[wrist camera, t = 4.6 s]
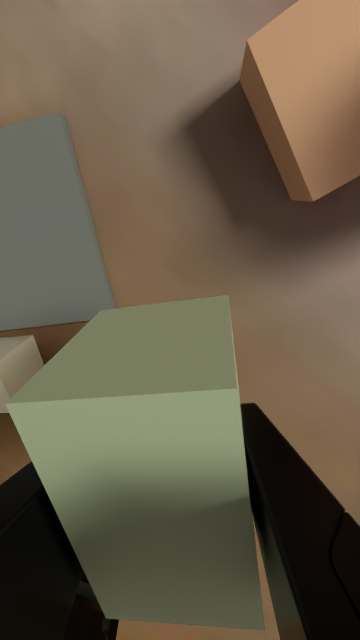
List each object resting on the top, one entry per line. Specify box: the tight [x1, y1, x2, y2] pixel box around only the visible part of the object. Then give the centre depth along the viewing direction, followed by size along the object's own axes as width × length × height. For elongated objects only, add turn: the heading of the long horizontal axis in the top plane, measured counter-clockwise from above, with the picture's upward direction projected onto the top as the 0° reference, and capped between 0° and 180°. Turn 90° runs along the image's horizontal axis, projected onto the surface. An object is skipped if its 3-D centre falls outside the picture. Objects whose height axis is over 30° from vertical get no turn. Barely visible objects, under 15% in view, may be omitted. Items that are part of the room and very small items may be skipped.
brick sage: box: [5, 295, 265, 630], centre depth 7 cm, size 6×4×4 cm, turn 9°
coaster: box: [0, 113, 116, 331], centre depth 18 cm, size 11×11×1 cm
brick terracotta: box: [240, 0, 360, 202], centre depth 12 cm, size 6×4×4 cm, turn 31°
